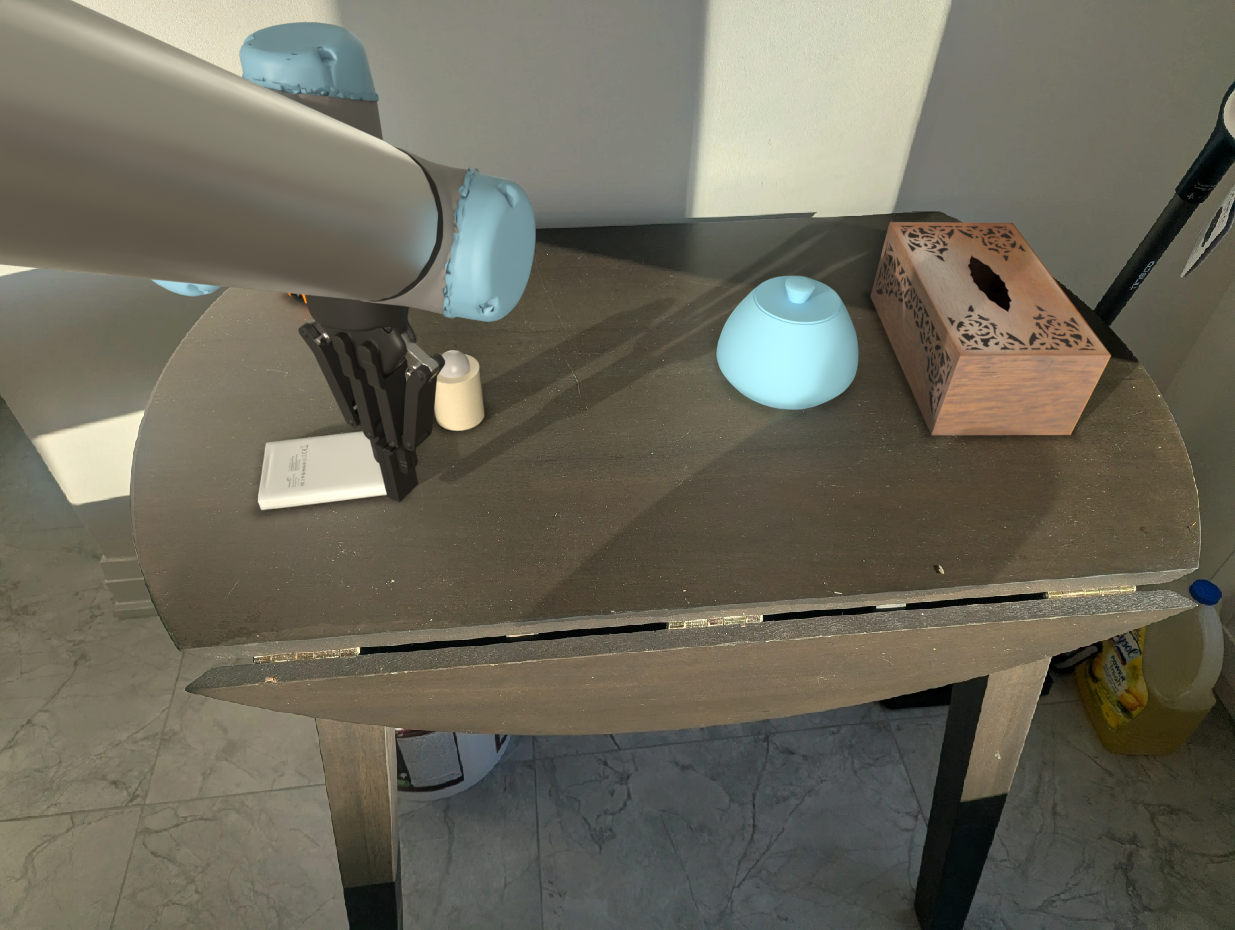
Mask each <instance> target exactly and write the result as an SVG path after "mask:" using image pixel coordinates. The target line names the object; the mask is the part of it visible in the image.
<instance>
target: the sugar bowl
mask: <svg viewBox="0 0 1235 930" xmlns="http://www.w3.org/2000/svg"><path fill="white" fill-rule="evenodd" d="M846 307H847V306H846V305H845V303H844V302H843V300H842V299H841V297H840V296H839V294H838V293H837V292H836V290H834V289H833V288H832V287H830V286H829V285H827V284H825V283H823V282H821V281H819V280H816V279H813V278H810V277H808V276H804V275H783V276H776V277H772V278H769V279H767V280H765V281H763V282H761V283H760V284H759V285H757V286H756V287H755V288H753V289H752V290H751V291H750V292H749V293H748V294H747V295H746V296H745V297H744V298H743V299H742V300H741V301H740V302H739V303H738V304H737V306H736V307H735V308H734V309H733V310H732V312H731V314H730V315H729V317H728V318H727V320H726V322H725V323H724V325H723V328H722V330H721V332H720V336H719V339H718V341H717V345H716V346H717V347H716V353H715V355H716V360H717V364H718V367H719V369H720V372H721V373H722V374H723V376H724V377H725V378H726V380H727V381H728V383H730V384H731V385H732V386H733V387H734V388H735V390H737V391H738V392H739V393H740V394H741V395H743V396H744V397H746V398H747V399H749V400H751V401H754V402H755V403H756V404H757V403H758V404H760V405H762V406H767V407H770V408H774V409H778V410H779V409H780V410H791V411H792V410H805V409H811V408H814V407H818V406H820V405H822V404H825V403H827V402H829V401H831V400H833V399H835V398H836V397H838V396H840V395H841V394H842V393H844V392H845V391H846V390H847V389H848V388H849V387H850V385H851V384H852V383H853V382H854V379H855V377H856V375H857V371H858V366H859V354H860V353H859V343H858V342H859V340H858V337H857V336H858V335H857V332H856V328H855V326H854V323H853V320H852V318H851V316H850V314H849V312H848V309H847V308H846Z"/></svg>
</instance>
